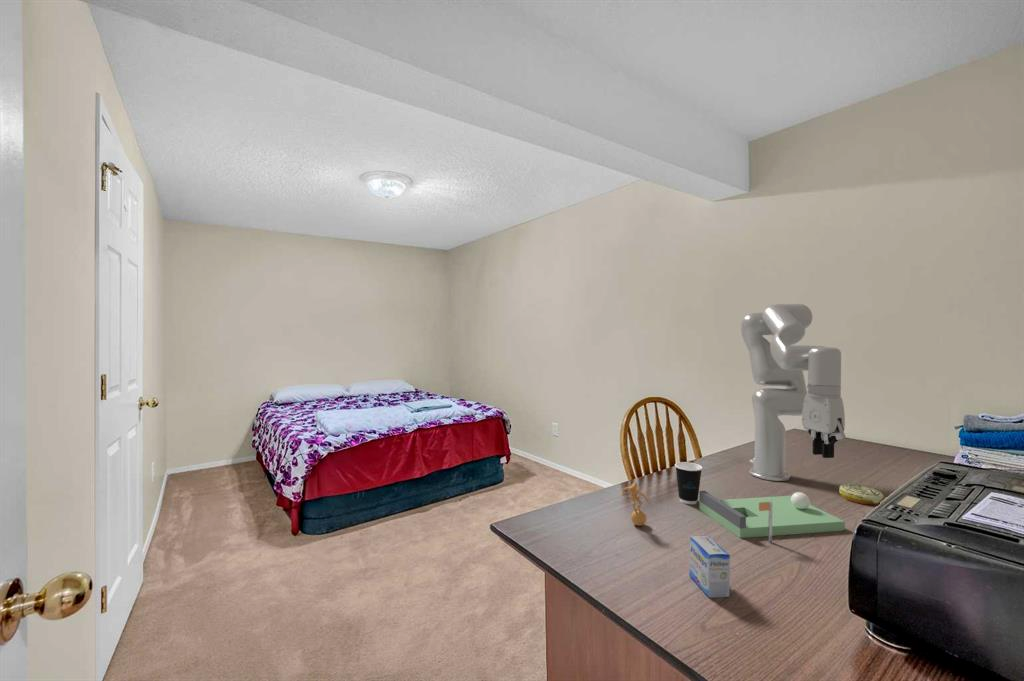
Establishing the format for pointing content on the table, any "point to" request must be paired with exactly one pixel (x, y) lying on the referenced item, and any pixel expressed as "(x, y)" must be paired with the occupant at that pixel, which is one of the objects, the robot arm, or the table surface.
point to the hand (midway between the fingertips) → (823, 455)
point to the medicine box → (709, 566)
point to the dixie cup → (688, 481)
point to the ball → (800, 500)
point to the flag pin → (765, 507)
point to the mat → (767, 516)
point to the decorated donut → (861, 494)
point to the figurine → (638, 515)
